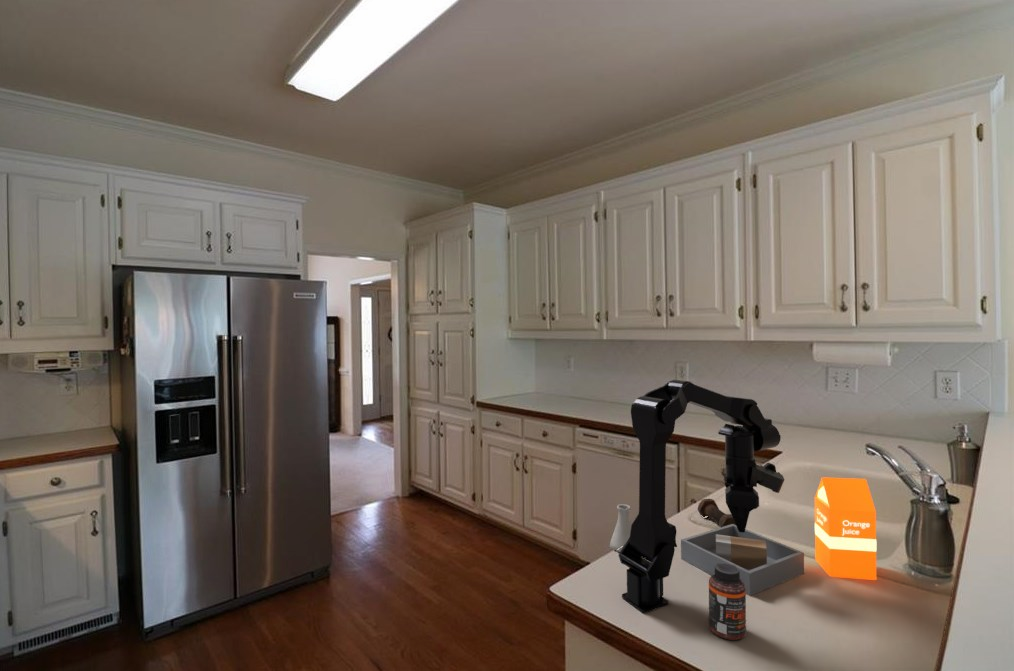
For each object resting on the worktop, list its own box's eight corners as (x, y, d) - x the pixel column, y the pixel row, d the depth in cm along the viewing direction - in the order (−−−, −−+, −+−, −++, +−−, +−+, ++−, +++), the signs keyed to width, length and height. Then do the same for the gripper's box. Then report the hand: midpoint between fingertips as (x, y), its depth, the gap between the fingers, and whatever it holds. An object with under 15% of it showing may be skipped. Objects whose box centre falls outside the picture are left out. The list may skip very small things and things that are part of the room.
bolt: (736, 546, 122) (703, 520, 137) (752, 535, 123) (718, 510, 137) (726, 527, 121) (694, 504, 136) (742, 516, 122) (708, 494, 137)
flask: (616, 538, 124) (615, 499, 124) (643, 545, 120) (643, 504, 120) (604, 549, 118) (603, 508, 118) (633, 556, 114) (632, 514, 114)
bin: (749, 595, 97) (749, 573, 96) (681, 558, 112) (680, 539, 112) (804, 573, 105) (803, 552, 104) (732, 541, 120) (732, 523, 120)
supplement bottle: (728, 646, 82) (727, 579, 82) (701, 626, 87) (700, 563, 87) (754, 636, 84) (753, 571, 84) (726, 617, 90) (725, 556, 90)
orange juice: (814, 559, 111) (813, 472, 110) (858, 562, 109) (857, 473, 108) (830, 577, 103) (829, 483, 103) (877, 580, 101) (876, 485, 101)
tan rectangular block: (767, 571, 105) (766, 548, 104) (716, 563, 108) (716, 541, 108) (765, 563, 108) (764, 540, 108) (716, 555, 112) (715, 534, 112)
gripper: (787, 469, 96) (788, 547, 97) (775, 446, 113) (776, 512, 114) (725, 464, 101) (726, 539, 101) (723, 443, 118) (724, 507, 118)
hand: (740, 523), depth 108 cm, fingers open, 9 cm apart
